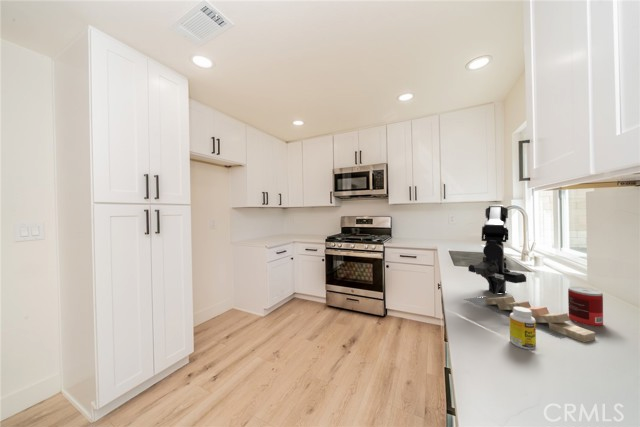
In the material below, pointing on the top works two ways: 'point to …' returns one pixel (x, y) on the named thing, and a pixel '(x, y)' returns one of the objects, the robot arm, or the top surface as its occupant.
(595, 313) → the canned food
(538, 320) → the domino
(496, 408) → the top surface
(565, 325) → the wooden block
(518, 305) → the domino
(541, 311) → the domino
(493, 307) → the mat
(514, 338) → the supplement bottle
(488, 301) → the domino
